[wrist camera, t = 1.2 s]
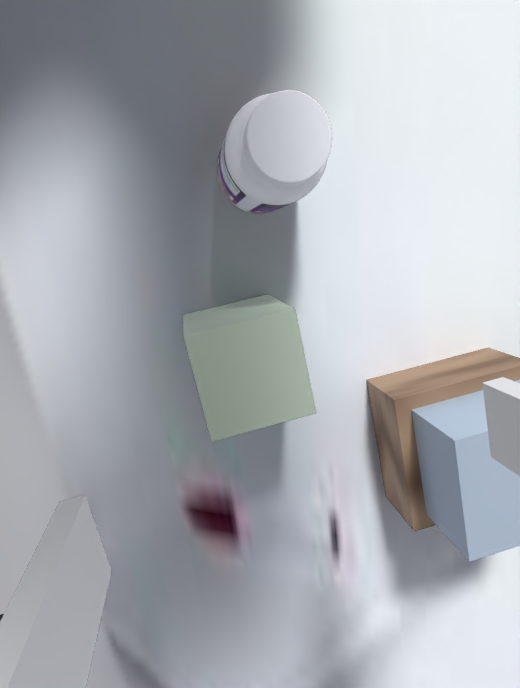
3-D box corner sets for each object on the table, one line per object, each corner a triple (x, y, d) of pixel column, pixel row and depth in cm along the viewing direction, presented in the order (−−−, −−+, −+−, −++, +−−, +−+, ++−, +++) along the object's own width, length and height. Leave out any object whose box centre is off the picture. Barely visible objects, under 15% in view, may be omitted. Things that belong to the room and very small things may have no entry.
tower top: (411, 409, 30) (454, 440, 26) (521, 379, 31) (582, 403, 26) (426, 514, 32) (469, 561, 27) (529, 483, 33) (588, 523, 28)
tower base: (364, 378, 35) (394, 400, 30) (485, 346, 36) (532, 362, 31) (384, 494, 37) (414, 531, 32) (496, 461, 38) (542, 492, 34)
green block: (182, 314, 31) (183, 336, 24) (267, 293, 32) (295, 309, 24) (204, 396, 33) (211, 442, 25) (285, 374, 33) (316, 413, 26)
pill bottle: (310, 149, 30) (366, 106, 21) (278, 227, 31) (319, 218, 22) (234, 112, 29) (259, 48, 20) (203, 193, 30) (212, 168, 21)
